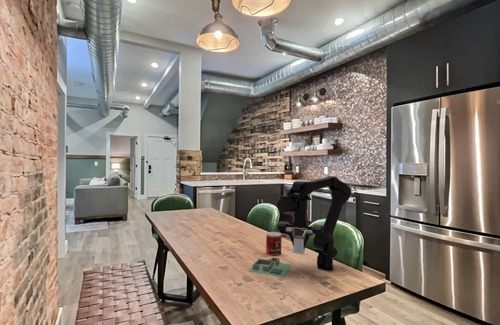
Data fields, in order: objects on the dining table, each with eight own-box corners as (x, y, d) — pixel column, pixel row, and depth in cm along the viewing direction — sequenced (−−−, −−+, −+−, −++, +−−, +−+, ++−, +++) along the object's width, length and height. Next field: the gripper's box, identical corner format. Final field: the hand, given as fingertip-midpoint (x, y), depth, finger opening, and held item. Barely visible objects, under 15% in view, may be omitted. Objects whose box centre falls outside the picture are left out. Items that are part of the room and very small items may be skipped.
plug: (304, 250, 121) (305, 236, 121) (302, 254, 115) (303, 239, 115) (295, 249, 122) (295, 235, 122) (293, 253, 117) (293, 238, 116)
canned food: (269, 258, 137) (269, 236, 137) (263, 253, 145) (264, 232, 145) (283, 257, 139) (284, 235, 139) (277, 252, 147) (278, 231, 147)
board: (292, 266, 127) (292, 260, 127) (285, 279, 113) (285, 272, 113) (259, 261, 132) (259, 255, 132) (248, 273, 118) (248, 266, 118)
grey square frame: (273, 265, 126) (273, 260, 126) (268, 271, 118) (268, 267, 118) (258, 263, 128) (258, 258, 128) (252, 269, 121) (253, 264, 121)
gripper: (324, 209, 123) (323, 245, 123) (282, 206, 130) (282, 240, 130) (322, 214, 113) (321, 252, 113) (277, 210, 119) (276, 247, 119)
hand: (299, 247), depth 119 cm, fingers closed on plug, 4 cm apart
